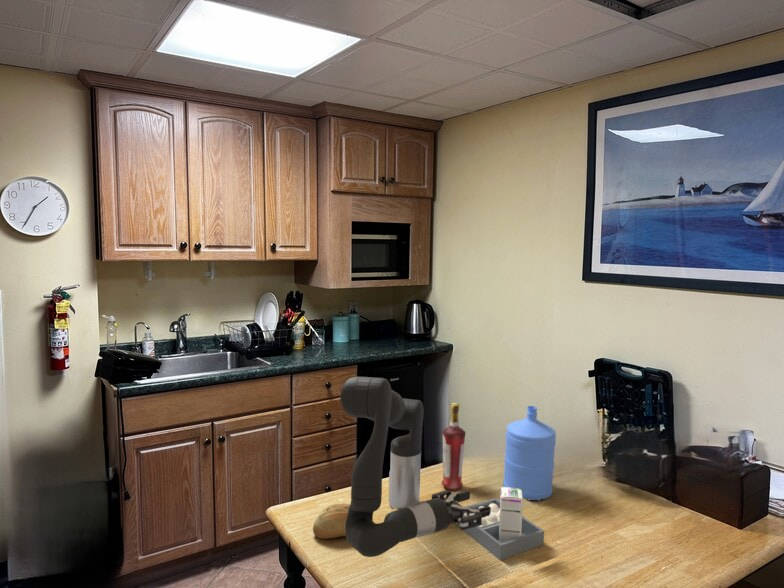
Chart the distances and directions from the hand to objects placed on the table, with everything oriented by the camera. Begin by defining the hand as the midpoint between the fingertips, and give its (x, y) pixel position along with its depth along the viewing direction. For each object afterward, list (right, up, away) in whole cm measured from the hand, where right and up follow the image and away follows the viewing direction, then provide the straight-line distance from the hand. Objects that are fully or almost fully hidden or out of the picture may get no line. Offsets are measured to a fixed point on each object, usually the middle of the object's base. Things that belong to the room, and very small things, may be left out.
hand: (479, 502), depth 142 cm
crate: (+7, -14, +11) cm, 19 cm away
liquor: (-3, -10, +40) cm, 42 cm away
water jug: (+22, -11, +39) cm, 46 cm away
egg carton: (+5, -12, +15) cm, 20 cm away
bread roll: (-37, -13, +11) cm, 41 cm away
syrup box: (+9, -14, +7) cm, 18 cm away
